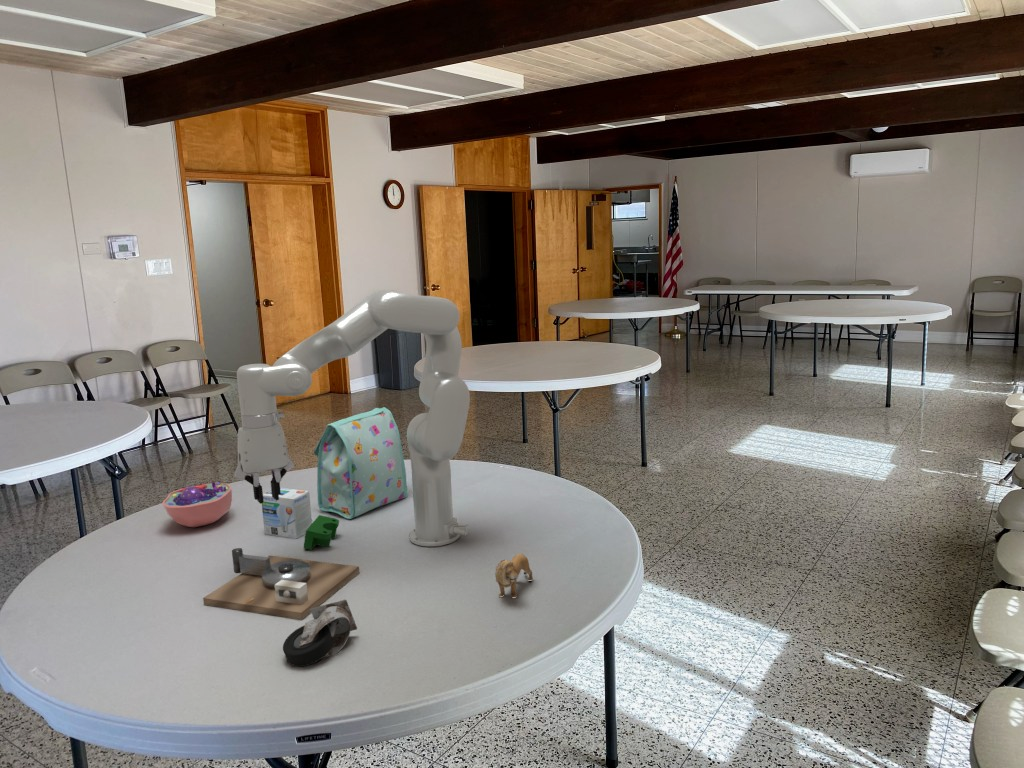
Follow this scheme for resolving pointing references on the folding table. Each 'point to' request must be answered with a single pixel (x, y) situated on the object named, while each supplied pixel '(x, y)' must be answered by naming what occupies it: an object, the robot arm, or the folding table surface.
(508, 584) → the lion figurine
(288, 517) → the light bulb box
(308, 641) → the caster wheel
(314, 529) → the clamp
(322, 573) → the stand base
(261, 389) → the robot arm
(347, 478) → the lunch bag
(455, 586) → the folding table surface
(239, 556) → the crank wheel
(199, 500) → the cell model
